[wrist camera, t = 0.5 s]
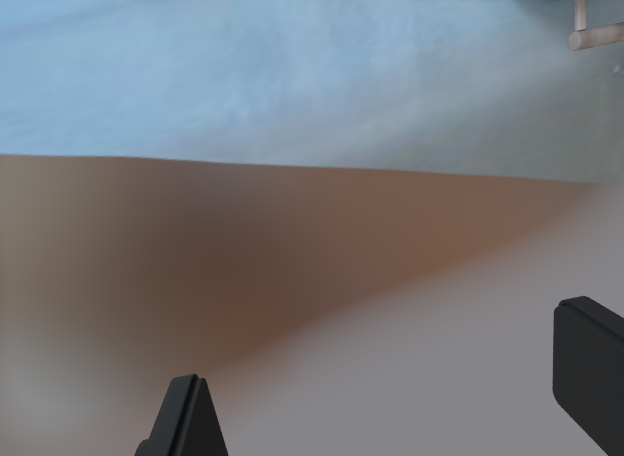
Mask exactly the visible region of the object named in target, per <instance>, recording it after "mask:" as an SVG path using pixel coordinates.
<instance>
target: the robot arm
mask: <svg viewBox="0 0 624 456" xmlns="http://www.w3.org/2000/svg"><path fill="white" fill-rule="evenodd" d="M553 337H554V338H553V394H554V396H555V399H556V401H557V402H558V404H559V405H560V406H561V407H562V408H563V409H564V410H565V411H566V412H567V413H568V414H569V415H570V417H572V418H573V420H574V421H575V422H576V423H577V424H578V425H579V426H580V427H581V428H582V429H583V430H584V431H585V432H586V433H587V434H588V435H589V436H590V437H591V438H592V439H593V440H594V441H595V442H596V443H597V444H598V446H600V448H601V449H602V450H604V452H605V453H606V454H607V455H608V456H624V318H622V317H621V316H619V315H617V314H616V313H614V312H612V311H610V310H609V309H607V308H606V307H604V306H602V305H601V304H599V303H597V302H596V301H594V300H592V299H590V298H588V297H586V296H581V297H576V298H571V299H566V300H562V301H561V302H560V303H559V306H558V307H556V308H555V310H554V336H553ZM134 456H228V452H227V449H226V446H225V442H224V439H223V436H222V432H221V429H220V426H219V422H218V419H217V415H216V412H215V409H214V405H213V402H212V399H211V395H210V392H209V389H208V385H207V382H206V380H205V378H201V379H199V378H198V376H197V375H196V374H191V375H186V376H181V377H176V378H173V379H172V381H171V383H170V385H169V388H168V391H167V393H166V396H165V398H164V401H163V404H162V406H161V409H160V411H159V414H158V416H157V419H156V421H155V424H154V427H153V429H152V432H151V434H150V437H149V439H146V440H143V441H142V442H141V443H140V444H139V446H138V448H137V450H136V453H135V455H134Z"/></svg>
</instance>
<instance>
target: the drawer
mask: <svg viewBox="0 0 624 456" xmlns="http://www.w3.org/2000/svg"><path fill="white" fill-rule="evenodd" d="M586 18H587V0H575V14H574V32H573V33H572V34H571V35H570V37H569V40H568V46H569V48H570V50H572V51H576V50H581V49H586V48H591V47H596V46H601V45H606V44H611V43H616V42H621V41H624V22H621V23H616V24H611V25H606V26H601V27H596V28H591V29H586ZM585 29H586V30H585Z"/></svg>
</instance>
